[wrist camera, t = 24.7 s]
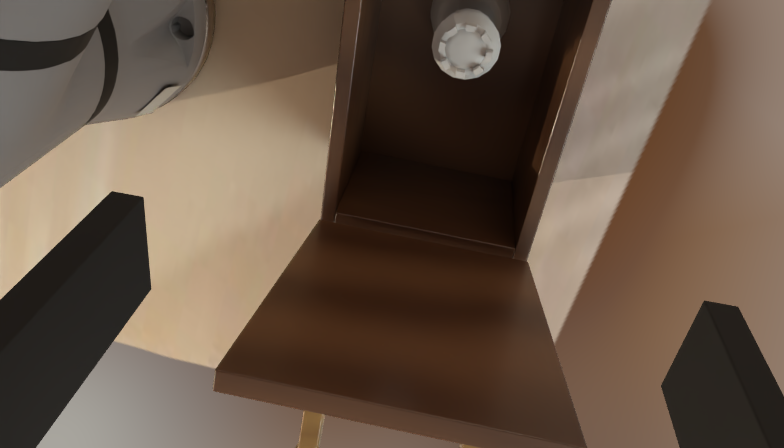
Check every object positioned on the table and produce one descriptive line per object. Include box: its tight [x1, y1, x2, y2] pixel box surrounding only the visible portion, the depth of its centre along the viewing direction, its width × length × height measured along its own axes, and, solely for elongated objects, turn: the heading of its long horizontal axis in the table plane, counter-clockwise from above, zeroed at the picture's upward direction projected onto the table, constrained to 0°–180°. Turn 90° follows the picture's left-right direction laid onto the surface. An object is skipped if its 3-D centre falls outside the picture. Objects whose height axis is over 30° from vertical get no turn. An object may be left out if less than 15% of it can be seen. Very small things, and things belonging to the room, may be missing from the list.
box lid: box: [213, 220, 587, 448], centre depth 28 cm, size 16×12×6 cm
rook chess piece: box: [430, 0, 511, 80], centre depth 33 cm, size 4×4×8 cm
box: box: [321, 0, 612, 262], centre depth 35 cm, size 16×12×9 cm
